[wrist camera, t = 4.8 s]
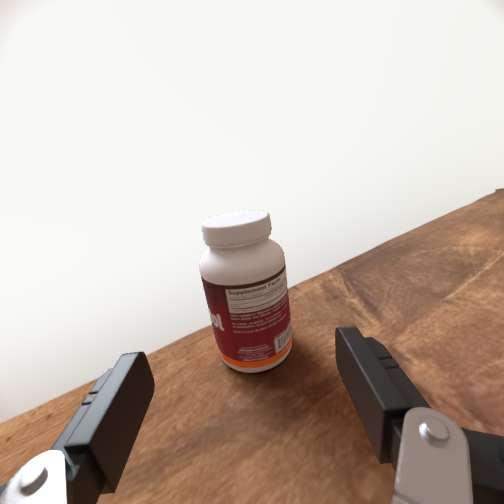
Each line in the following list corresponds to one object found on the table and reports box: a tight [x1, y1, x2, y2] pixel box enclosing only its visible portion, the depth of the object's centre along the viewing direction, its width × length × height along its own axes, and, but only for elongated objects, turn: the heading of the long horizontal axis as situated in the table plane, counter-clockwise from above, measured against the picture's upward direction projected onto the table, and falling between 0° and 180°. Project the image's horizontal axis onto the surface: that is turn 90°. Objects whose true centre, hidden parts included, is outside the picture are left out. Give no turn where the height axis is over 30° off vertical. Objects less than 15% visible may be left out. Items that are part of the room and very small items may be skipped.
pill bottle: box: [199, 210, 292, 373], centre depth 19 cm, size 6×6×11 cm
